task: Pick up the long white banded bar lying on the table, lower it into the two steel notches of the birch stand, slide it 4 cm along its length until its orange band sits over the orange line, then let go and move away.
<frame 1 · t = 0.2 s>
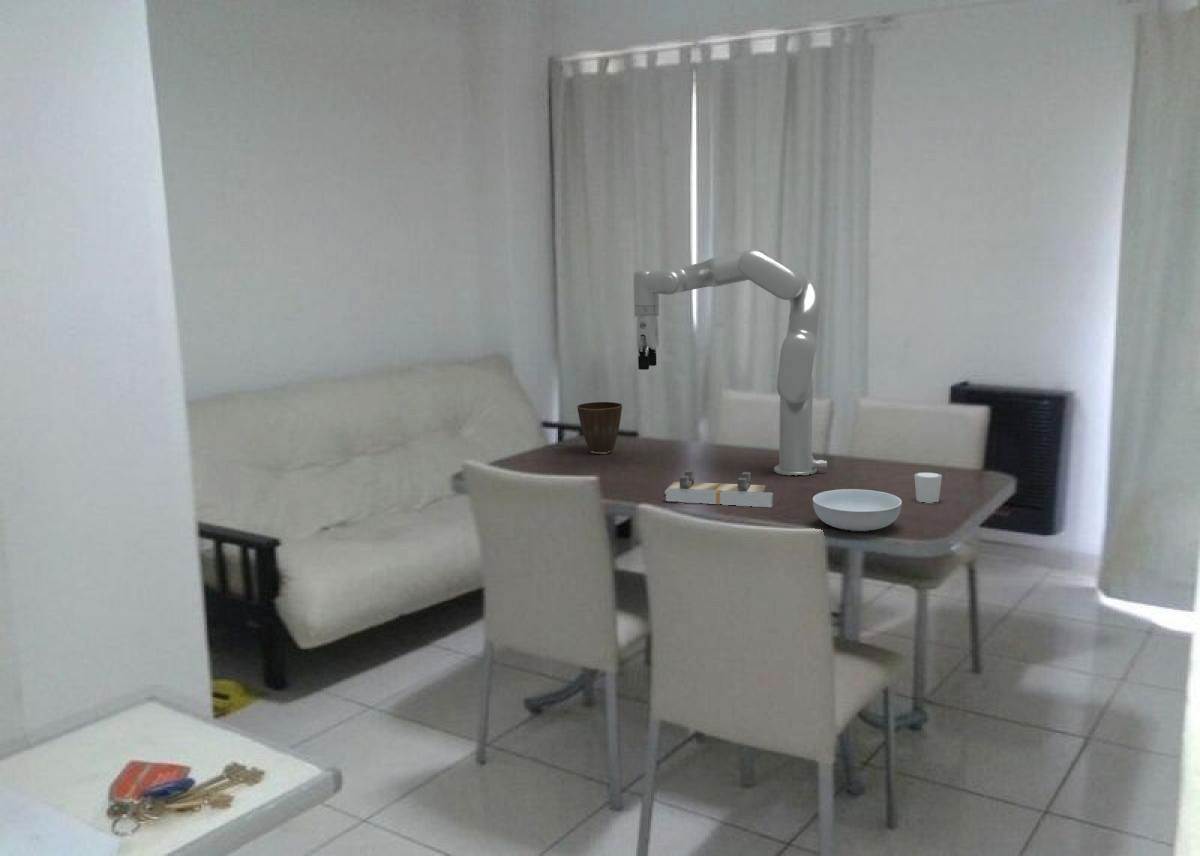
hand: (647, 367, 315), 31 cm above the table, tool pointing down, fingers open, 9 cm apart
white banded bar: (718, 503, 273), on the table
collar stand: (715, 492, 285), on the table
serving bowl: (856, 527, 248), on the table
white cup: (927, 501, 270), on the table
plant pot: (600, 453, 344), on the table
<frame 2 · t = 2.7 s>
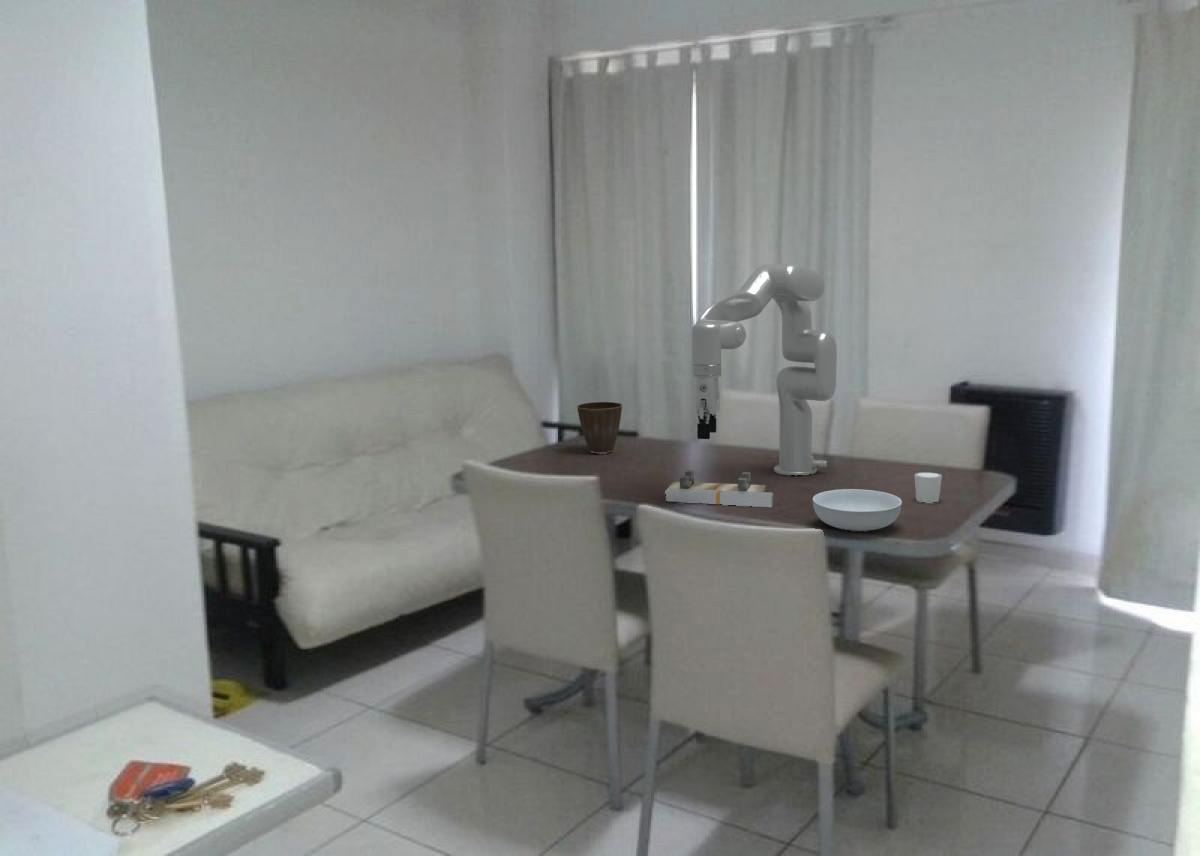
hand: (707, 435, 270), 18 cm above the table, tool pointing down, fingers open, 9 cm apart
nothing on the table moved.
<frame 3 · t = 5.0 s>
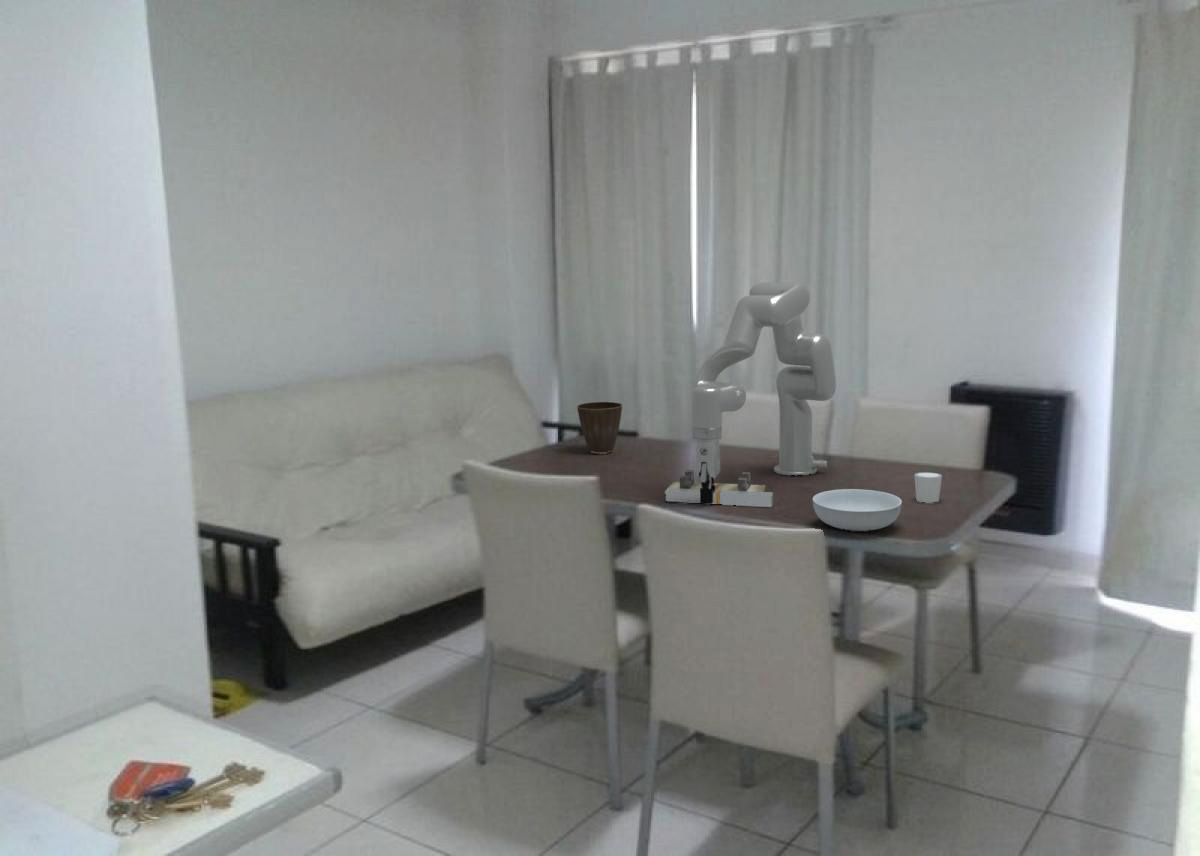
hand: (707, 500, 273), 1 cm above the table, tool pointing down, fingers closed on white banded bar, 3 cm apart
white banded bar: (718, 503, 273), on the table, touching gripper
everything else where it was.
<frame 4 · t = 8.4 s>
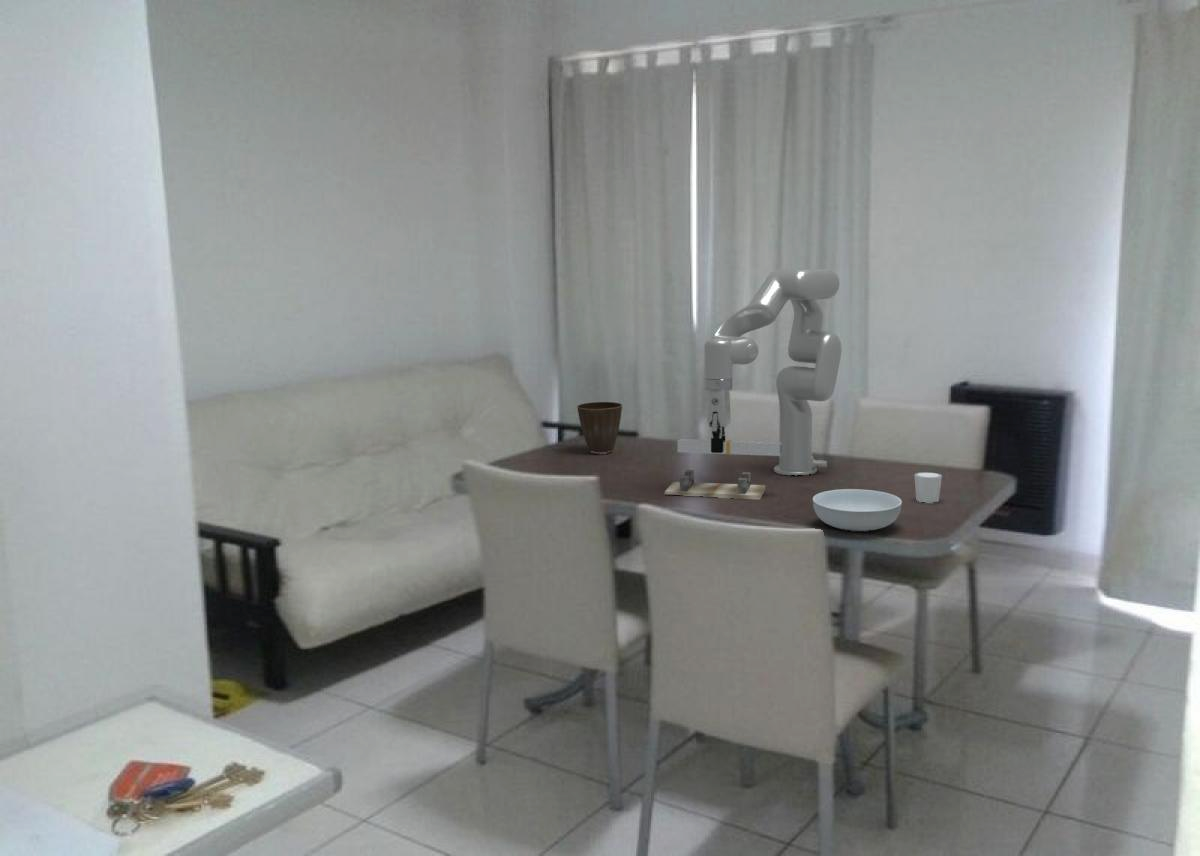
hand: (718, 450, 282), 12 cm above the table, tool pointing down, fingers closed on white banded bar, 3 cm apart
white banded bar: (728, 453, 282), point 11 cm above the table, touching gripper
everything else where it was.
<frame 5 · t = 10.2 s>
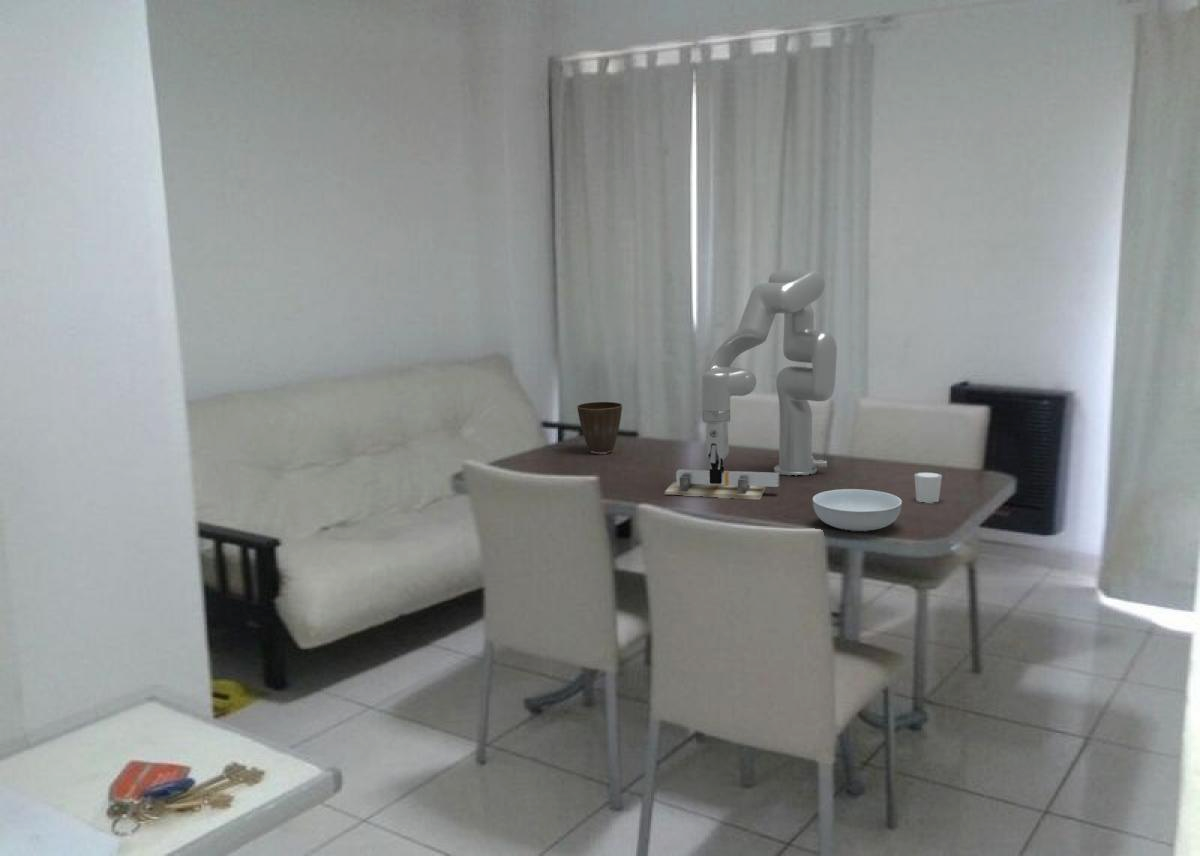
hand: (716, 481, 284), 3 cm above the table, tool pointing down, fingers closed on white banded bar, 3 cm apart
white banded bar: (727, 483, 283), point 3 cm above the table, touching gripper
everything else where it was.
when the fingers open (3 cm above the table, at t = 11.8 s): white banded bar stays where it is, resting on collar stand.
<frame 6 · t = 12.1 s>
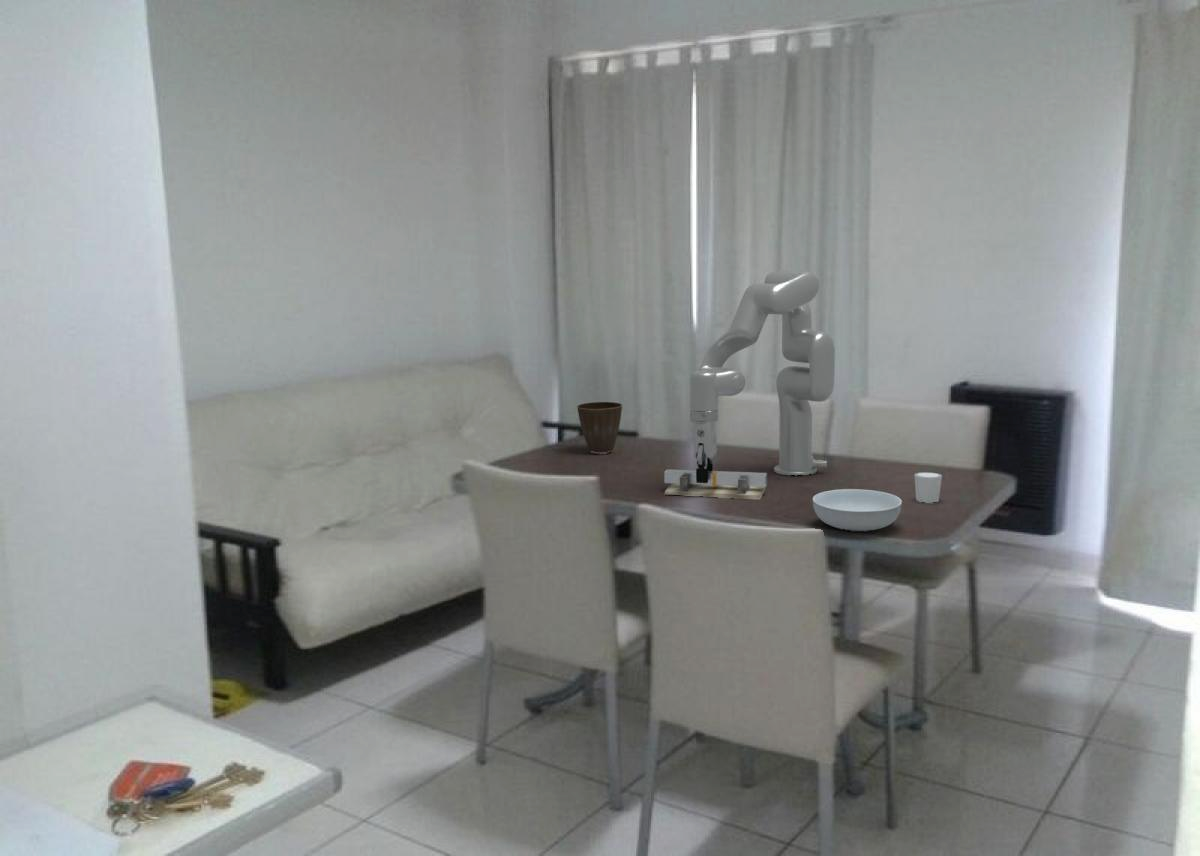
hand: (704, 479, 285), 4 cm above the table, tool pointing down, fingers open, 6 cm apart
white banded bar: (715, 483, 284), point 2 cm above the table, touching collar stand
everything else where it was.
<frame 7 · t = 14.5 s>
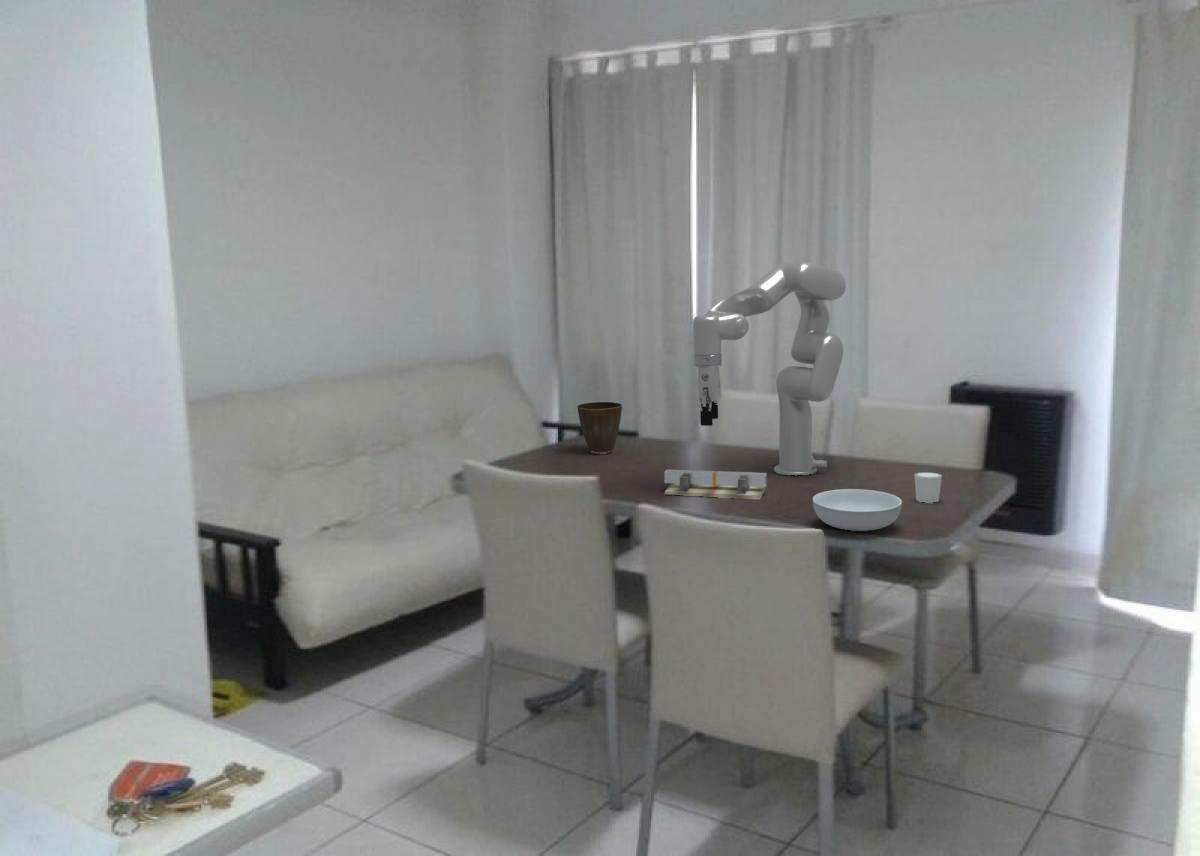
hand: (709, 421, 285), 19 cm above the table, tool pointing down, fingers open, 9 cm apart
nothing on the table moved.
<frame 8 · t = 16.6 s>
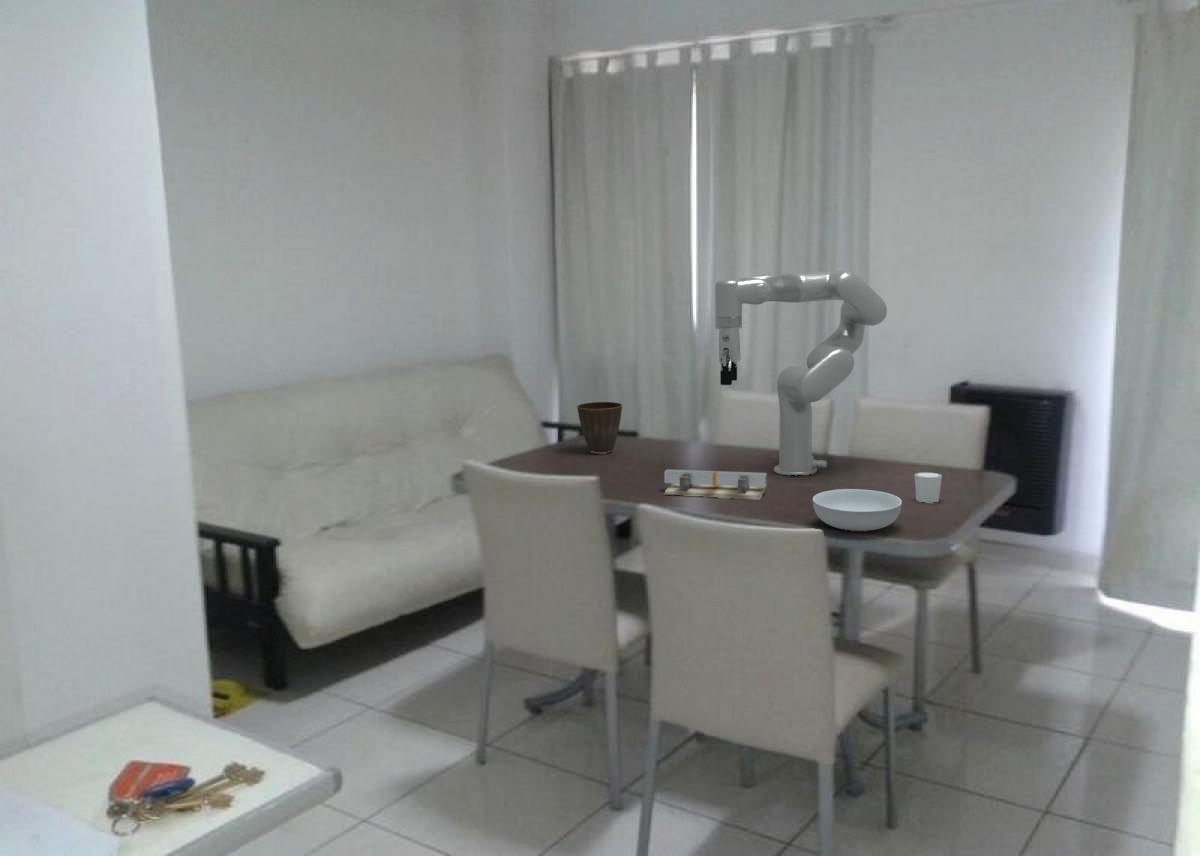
hand: (728, 382, 297), 28 cm above the table, tool pointing down, fingers open, 9 cm apart
nothing on the table moved.
at the end: white banded bar 0.0 cm off-centre on the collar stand, point 2.5 cm above the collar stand's base; the gripper is holding nothing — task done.
